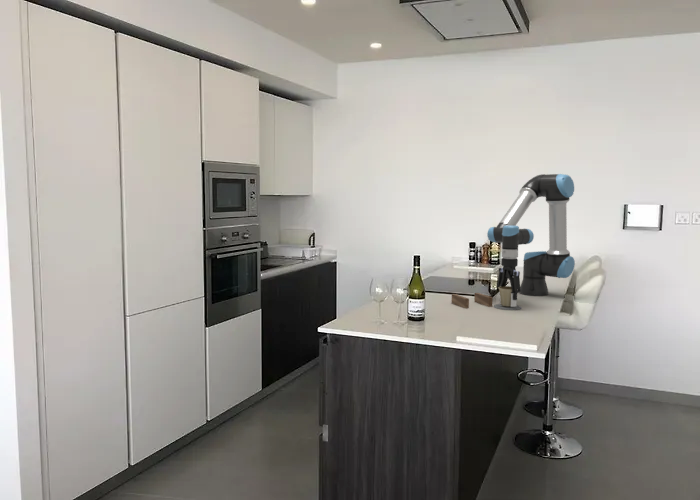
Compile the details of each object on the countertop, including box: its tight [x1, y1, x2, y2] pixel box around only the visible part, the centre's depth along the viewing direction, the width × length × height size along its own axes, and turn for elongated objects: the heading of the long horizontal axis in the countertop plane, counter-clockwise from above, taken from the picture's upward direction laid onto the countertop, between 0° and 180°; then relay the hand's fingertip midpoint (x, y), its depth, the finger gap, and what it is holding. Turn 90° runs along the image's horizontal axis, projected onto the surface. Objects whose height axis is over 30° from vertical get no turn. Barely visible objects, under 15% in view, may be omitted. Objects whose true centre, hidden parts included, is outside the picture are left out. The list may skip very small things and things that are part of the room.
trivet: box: [493, 303, 523, 311], centre depth 284 cm, size 13×13×1 cm
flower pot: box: [498, 285, 515, 307], centre depth 284 cm, size 9×9×9 cm
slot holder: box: [451, 292, 493, 309], centre depth 290 cm, size 15×13×4 cm
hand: (507, 304), depth 284 cm, fingers closed on flower pot, 8 cm apart
